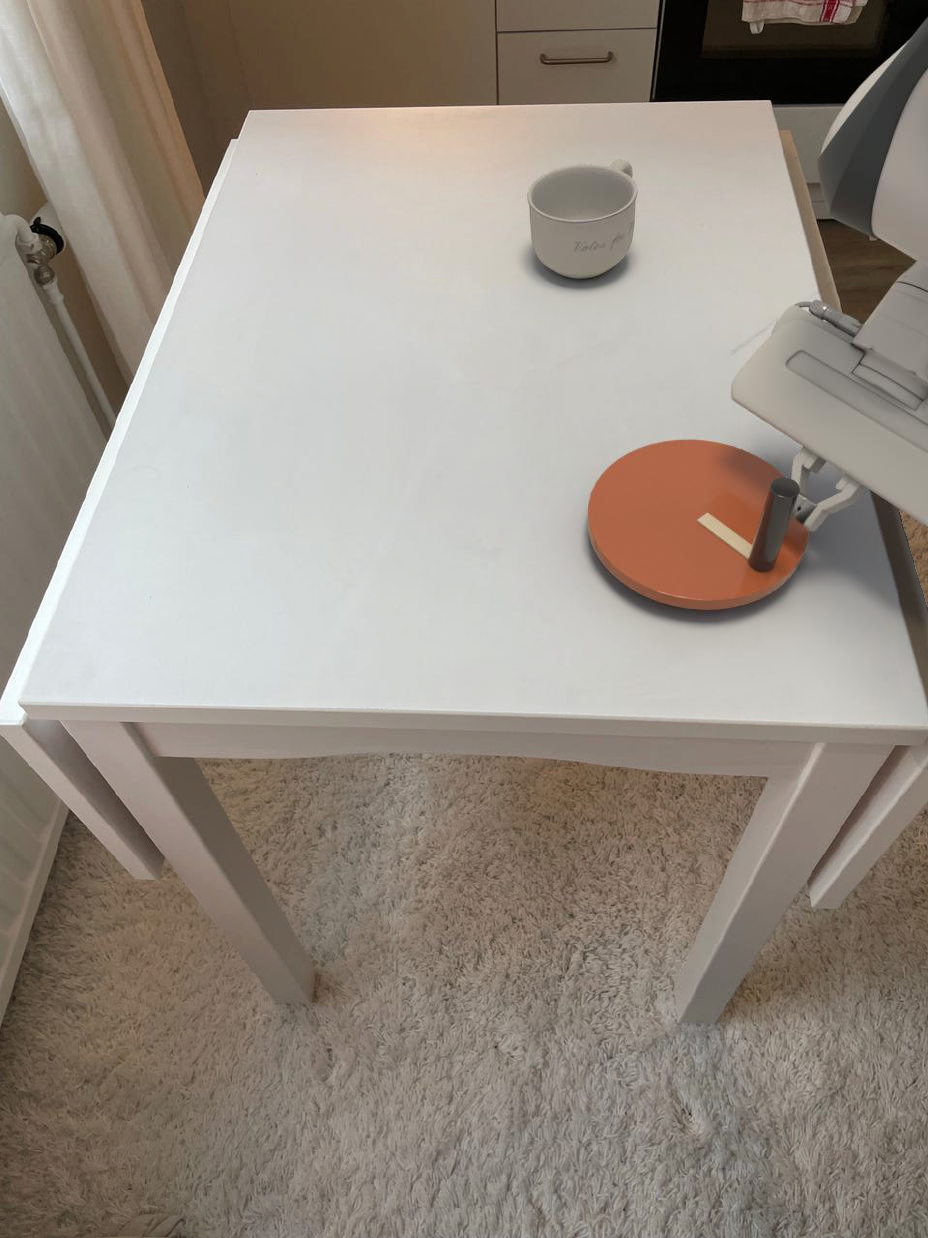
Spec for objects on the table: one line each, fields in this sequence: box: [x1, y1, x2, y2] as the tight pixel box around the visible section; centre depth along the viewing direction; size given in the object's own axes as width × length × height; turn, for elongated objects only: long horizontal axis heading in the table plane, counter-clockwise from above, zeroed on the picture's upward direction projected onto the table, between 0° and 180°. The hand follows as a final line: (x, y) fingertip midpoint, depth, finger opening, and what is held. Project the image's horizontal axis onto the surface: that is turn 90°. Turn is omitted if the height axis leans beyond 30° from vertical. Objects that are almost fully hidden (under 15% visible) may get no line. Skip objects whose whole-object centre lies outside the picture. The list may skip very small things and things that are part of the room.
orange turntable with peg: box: [586, 438, 810, 611], centre depth 72 cm, size 17×17×9 cm
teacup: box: [526, 159, 639, 279], centre depth 98 cm, size 14×11×8 cm
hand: (795, 520), depth 70 cm, fingers closed
